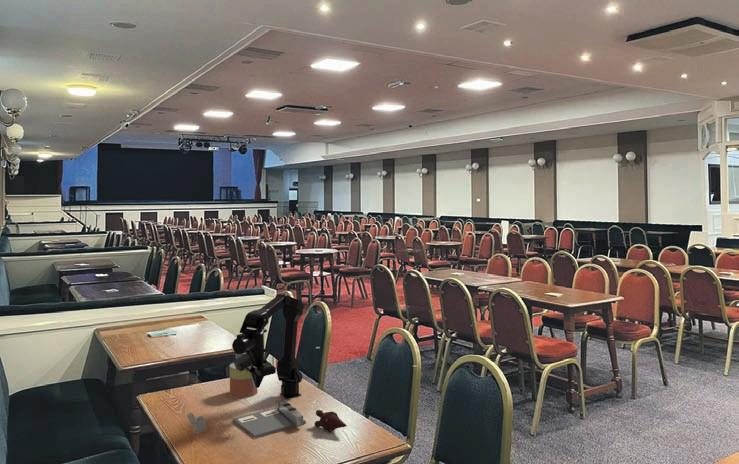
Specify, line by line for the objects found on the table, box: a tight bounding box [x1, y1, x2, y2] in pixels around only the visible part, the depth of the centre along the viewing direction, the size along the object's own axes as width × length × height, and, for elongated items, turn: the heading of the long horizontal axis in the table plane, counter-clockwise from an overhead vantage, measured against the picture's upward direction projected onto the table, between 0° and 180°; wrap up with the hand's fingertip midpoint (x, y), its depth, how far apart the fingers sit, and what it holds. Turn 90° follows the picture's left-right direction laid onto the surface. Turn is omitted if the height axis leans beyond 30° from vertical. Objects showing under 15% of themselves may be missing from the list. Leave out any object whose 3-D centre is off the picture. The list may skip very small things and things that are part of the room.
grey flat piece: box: [186, 412, 207, 435], centre depth 192 cm, size 7×2×8 cm, turn 151°
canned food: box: [228, 362, 258, 399], centre depth 230 cm, size 11×11×12 cm
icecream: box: [314, 409, 347, 433], centre depth 194 cm, size 7×7×15 cm
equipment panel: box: [231, 406, 307, 439], centre depth 201 cm, size 20×18×1 cm
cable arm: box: [277, 399, 304, 426], centre depth 203 cm, size 18×3×3 cm, turn 31°
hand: (257, 387), depth 208 cm, fingers closed
